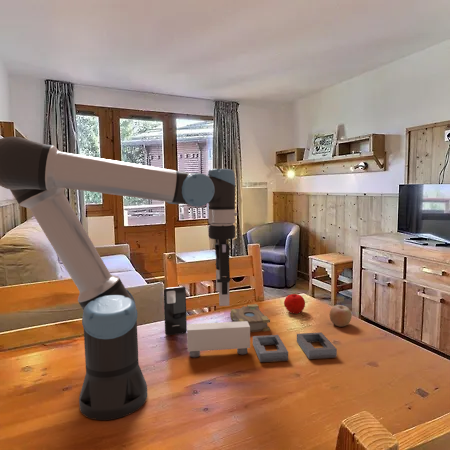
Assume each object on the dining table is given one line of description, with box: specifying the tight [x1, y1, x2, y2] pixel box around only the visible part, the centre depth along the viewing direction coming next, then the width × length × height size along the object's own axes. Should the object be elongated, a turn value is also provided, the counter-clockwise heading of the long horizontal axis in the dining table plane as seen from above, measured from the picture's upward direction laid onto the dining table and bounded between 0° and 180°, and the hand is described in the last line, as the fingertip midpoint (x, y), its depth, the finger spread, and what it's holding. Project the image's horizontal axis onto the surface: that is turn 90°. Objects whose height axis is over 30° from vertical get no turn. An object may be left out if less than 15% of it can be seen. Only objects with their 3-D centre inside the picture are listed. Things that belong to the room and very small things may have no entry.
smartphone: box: [163, 286, 188, 336], centre depth 118 cm, size 7×1×16 cm, turn 107°
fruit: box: [329, 302, 353, 328], centre depth 124 cm, size 8×7×8 cm
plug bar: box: [186, 321, 251, 358], centre depth 104 cm, size 18×4×8 cm, turn 96°
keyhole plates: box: [252, 331, 338, 363], centre depth 106 cm, size 22×12×2 cm, turn 96°
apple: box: [283, 293, 306, 315], centre depth 137 cm, size 8×8×7 cm
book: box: [229, 303, 271, 333], centre depth 126 cm, size 15×11×5 cm
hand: (222, 297), depth 102 cm, fingers open, 13 cm apart
